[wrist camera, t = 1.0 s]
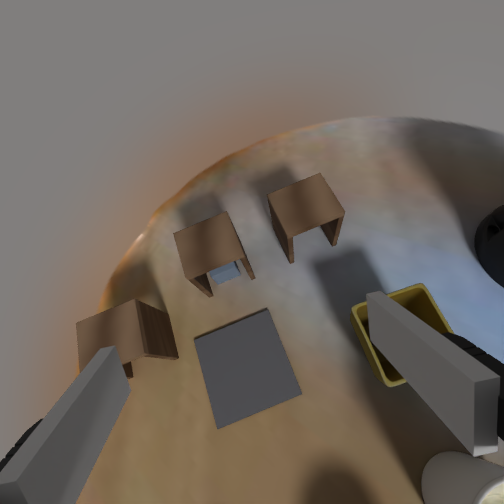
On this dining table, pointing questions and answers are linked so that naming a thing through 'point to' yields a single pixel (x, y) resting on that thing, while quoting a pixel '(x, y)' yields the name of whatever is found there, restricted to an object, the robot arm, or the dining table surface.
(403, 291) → the flower pot
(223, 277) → the cube
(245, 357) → the mat
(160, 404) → the dining table surface
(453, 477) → the candle holder
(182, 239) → the cover middle
